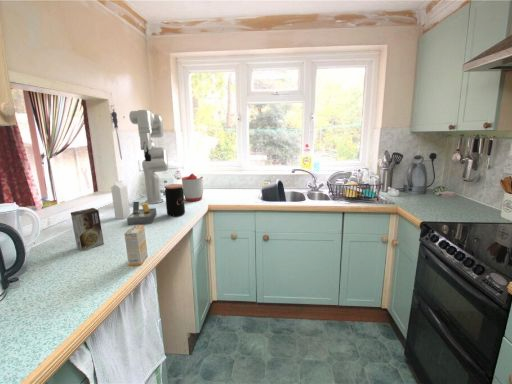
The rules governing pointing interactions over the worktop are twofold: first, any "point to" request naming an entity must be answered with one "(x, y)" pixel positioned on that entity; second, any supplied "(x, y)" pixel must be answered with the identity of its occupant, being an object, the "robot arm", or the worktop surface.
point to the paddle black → (135, 207)
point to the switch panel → (142, 217)
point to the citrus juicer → (192, 187)
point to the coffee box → (87, 228)
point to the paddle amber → (145, 208)
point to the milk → (120, 200)
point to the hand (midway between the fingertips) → (148, 161)
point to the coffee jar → (174, 200)
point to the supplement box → (136, 245)
